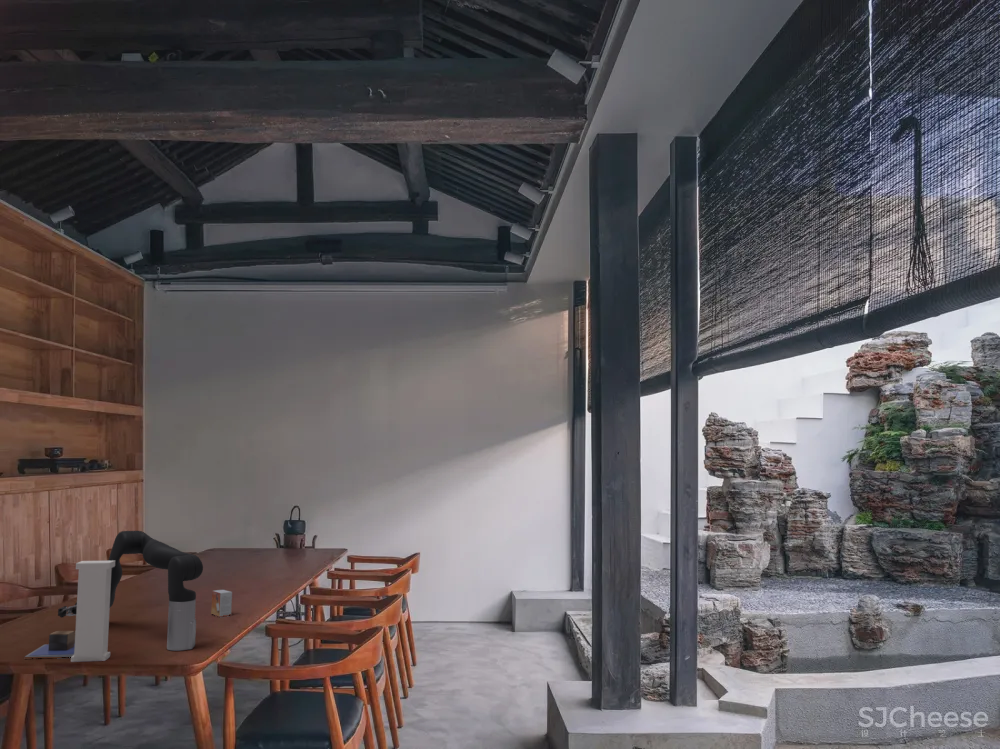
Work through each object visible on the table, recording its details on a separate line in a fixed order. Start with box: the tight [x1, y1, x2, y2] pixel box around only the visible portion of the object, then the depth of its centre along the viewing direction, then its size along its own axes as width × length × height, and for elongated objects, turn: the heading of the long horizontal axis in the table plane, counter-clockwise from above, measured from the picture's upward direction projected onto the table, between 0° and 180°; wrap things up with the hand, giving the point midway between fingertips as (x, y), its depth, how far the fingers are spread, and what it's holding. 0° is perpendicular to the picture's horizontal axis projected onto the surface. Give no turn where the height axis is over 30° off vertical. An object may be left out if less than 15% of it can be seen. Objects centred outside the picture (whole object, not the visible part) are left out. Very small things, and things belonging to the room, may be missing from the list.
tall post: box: [70, 560, 115, 663], centre depth 288 cm, size 11×6×33 cm, turn 100°
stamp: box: [48, 630, 76, 650], centre depth 301 cm, size 6×15×6 cm, turn 3°
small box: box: [210, 589, 233, 617], centre depth 363 cm, size 8×6×10 cm
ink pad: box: [24, 643, 75, 659], centre depth 295 cm, size 16×18×1 cm
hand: (73, 614), depth 310 cm, fingers open, 8 cm apart
